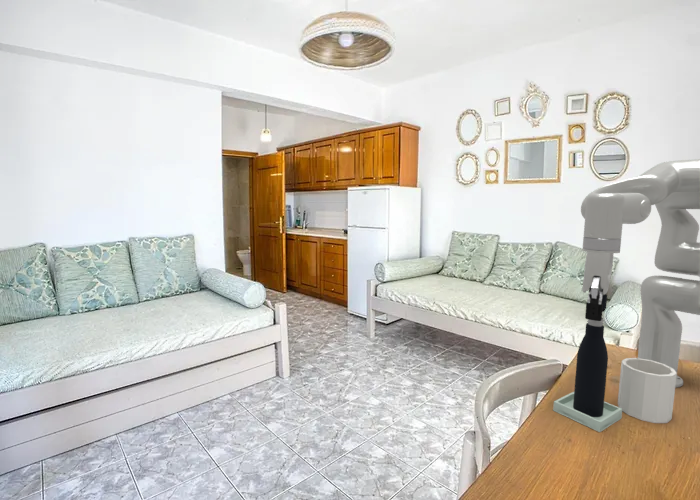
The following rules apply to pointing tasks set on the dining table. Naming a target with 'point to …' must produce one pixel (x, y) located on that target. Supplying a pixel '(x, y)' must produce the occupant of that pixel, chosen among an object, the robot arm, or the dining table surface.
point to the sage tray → (596, 423)
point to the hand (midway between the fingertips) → (595, 315)
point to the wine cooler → (647, 390)
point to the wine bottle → (591, 369)
